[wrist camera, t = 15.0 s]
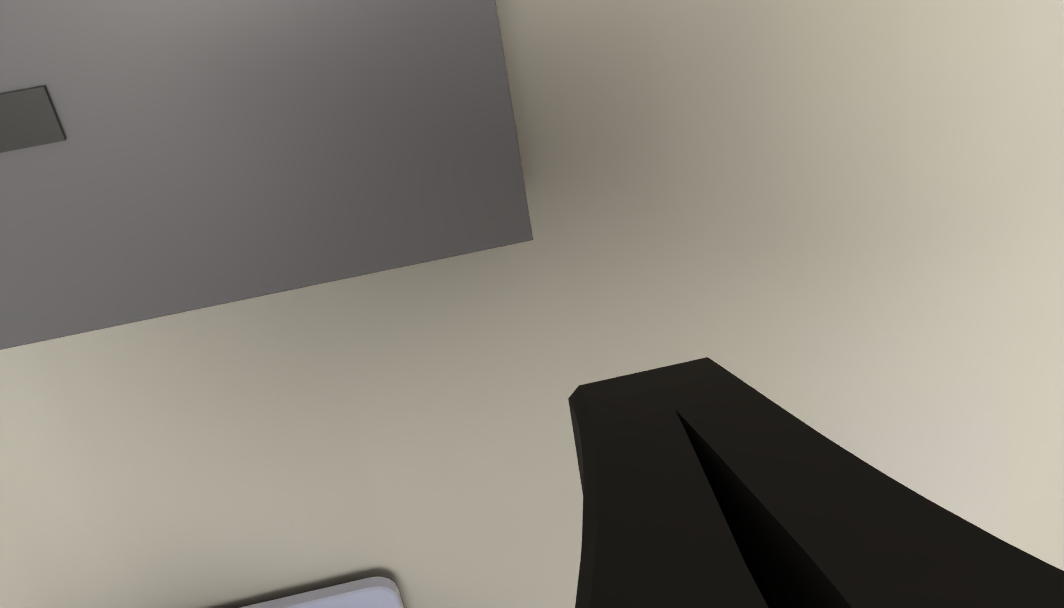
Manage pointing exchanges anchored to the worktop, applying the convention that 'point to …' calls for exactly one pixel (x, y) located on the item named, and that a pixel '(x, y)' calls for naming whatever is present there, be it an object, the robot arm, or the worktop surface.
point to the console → (241, 151)
